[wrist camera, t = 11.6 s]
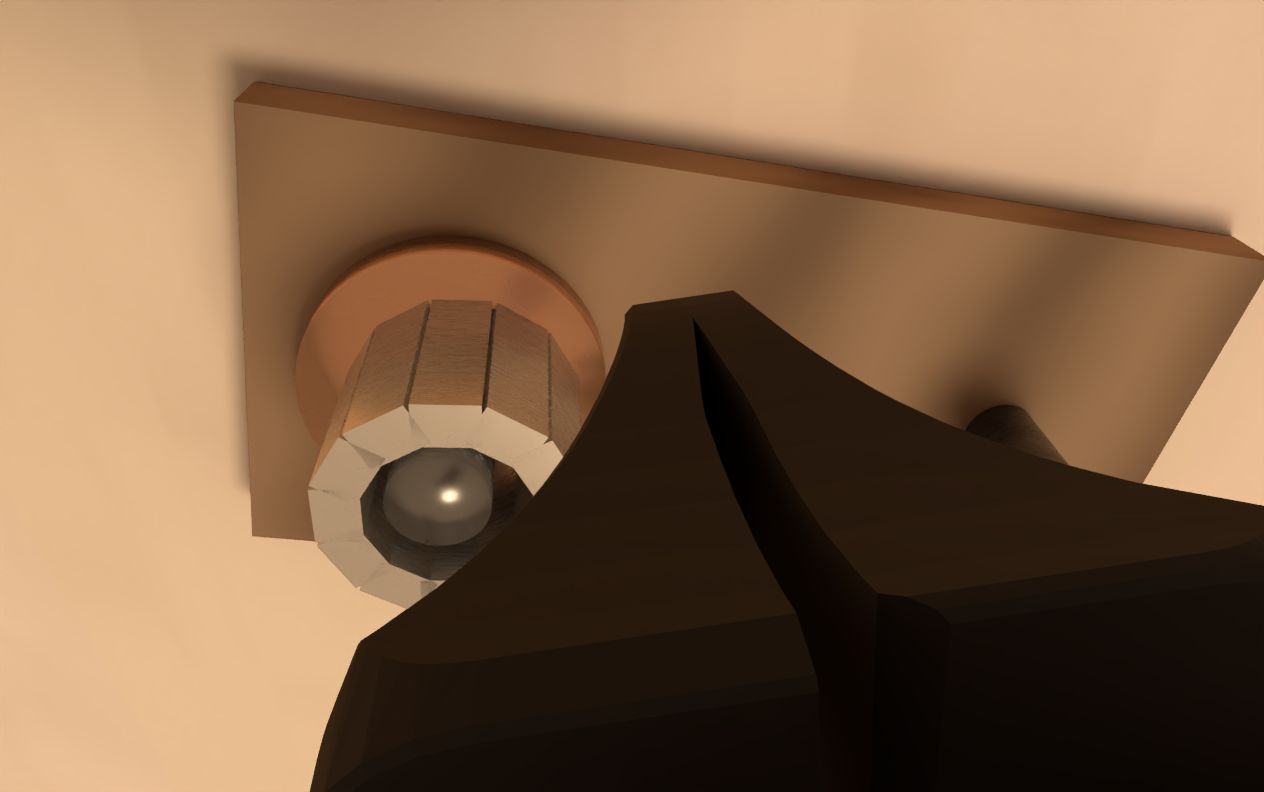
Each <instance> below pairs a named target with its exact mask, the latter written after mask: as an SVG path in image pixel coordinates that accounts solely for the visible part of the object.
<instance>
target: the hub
mask: <svg viewBox="0 0 1264 792" xmlns="http://www.w3.org/2000/svg"><path fill="white" fill-rule="evenodd" d="M432 299H440V300H472V301H493V308H494V306H495V305H496V303H499V304H501V305H503V306H505V307H507V308H508V309H510V310H512V311H514V312H516V313H518V314H520V315H521V316H523V317H525V318H527V319H529V320H531V321H532V322H534V323H536V324H538V325H540V326H542V327H544V328H545V329H547V330H548V334H549V333H551V334H552V335H553V337H554V338H555V340H556V342H557V343H558V345H559V347H560V348H561V350H562V351H563V353H564V355H565V356H566V358H567V360H568V361H569V363H570V364H571V366H572V368H573V369H574V371H575V373H576V374H577V376H578V380H579V394H580V411H581V427H582V425H583V424H584V422H585V420H586V418H587V416H588V414H589V412H590V411H591V409H592V407H593V405H594V403H595V401H596V399H597V398H598V396H599V393H600V391H601V389H602V387H603V385H604V382H605V380H606V377H607V376H606V367H605V359H604V352H603V346H602V342H601V339H600V335H599V332H598V329H597V326H596V324H595V322H594V320H593V318H592V316H591V314H590V312H589V310H588V309H587V307H586V306H585V304H584V303H583V301H582V300H581V298H580V297H579V296H578V295H577V293H576V292H575V291H574V290H573V289H572V288H571V287H570V286H569V284H568V283H567V282H566V281H565V280H563V279H562V278H561V277H560V276H559V275H558V274H556V273H555V272H554V271H553V270H552V269H550V268H549V267H547V266H546V265H544V264H543V263H541V262H540V261H538V260H537V259H535V258H533V257H531V256H529V255H527V254H525V253H523V252H521V251H519V250H517V249H515V248H512V247H509V246H506V245H504V244H501V243H498V242H494V241H490V240H485V239H481V238H477V237H468V236H458V235H435V236H426V237H419V238H412V239H409V240H405V241H401V242H398V243H394V244H391V245H389V246H386V247H384V248H381V249H379V250H377V251H374V252H372V253H371V254H369V255H367V256H366V257H364V258H362V259H361V260H359V261H357V262H356V263H354V264H353V265H352V266H351V267H350V268H348V269H347V270H346V271H345V272H343V273H342V274H341V275H340V276H339V277H338V278H337V279H336V280H335V282H334V283H333V284H332V285H331V286H330V287H329V288H328V290H327V291H326V293H325V294H324V296H323V297H322V299H321V300H320V302H319V303H318V306H317V308H316V310H315V312H314V314H313V316H312V319H311V321H310V323H309V325H308V327H307V330H306V332H305V334H304V336H303V339H302V341H301V344H300V348H299V352H298V355H297V360H296V370H295V385H296V395H297V400H298V404H299V409H300V412H301V415H302V417H303V420H304V422H305V425H306V427H307V429H308V431H309V433H310V434H311V436H312V438H313V440H314V442H315V443H316V444H317V446H318V447H319V448H320V450H321V448H322V445H323V442H324V439H325V437H326V434H327V431H328V428H329V425H330V422H331V419H332V416H333V413H334V411H335V408H336V405H337V402H338V399H339V396H340V393H341V390H342V387H343V385H344V382H345V379H346V376H347V373H348V370H349V369H350V367H351V365H352V364H353V362H354V360H355V359H356V357H357V355H358V354H359V352H360V350H361V349H362V347H363V345H364V344H365V342H366V340H367V339H368V337H369V335H370V334H371V332H372V330H373V329H374V328H375V329H376V327H377V325H378V324H380V323H382V322H384V321H386V320H388V319H390V318H393V317H395V316H397V315H399V314H401V313H403V312H405V311H407V310H409V309H411V308H413V307H415V306H417V305H419V304H421V303H423V302H425V301H427V300H428V301H429V303H430V304H431V303H432ZM494 470H495V459H494V458H492V457H490V456H487V455H485V454H483V453H481V452H479V451H477V450H475V449H473V448H440V447H422V448H420V449H417V450H415V451H413V452H411V453H409V454H407V455H404V456H402V457H400V458H398V459H396V460H393V461H392V462H391V467H390V471H389V475H388V479H387V484H386V488H385V492H384V498H383V507H384V512H385V514H386V517H387V519H388V521H389V522H390V523H391V525H392V526H393V527H394V528H395V529H396V530H397V531H398V532H399V533H401V534H402V535H404V536H405V537H407V538H409V539H411V540H413V541H416V542H419V543H422V544H426V545H433V546H447V545H453V544H457V543H461V542H464V541H466V540H468V539H470V538H472V537H473V536H475V535H476V534H478V533H479V532H480V531H481V530H482V529H483V528H484V527H485V525H486V524H487V522H488V520H489V518H490V515H491V510H492V496H493V483H494Z"/></svg>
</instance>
